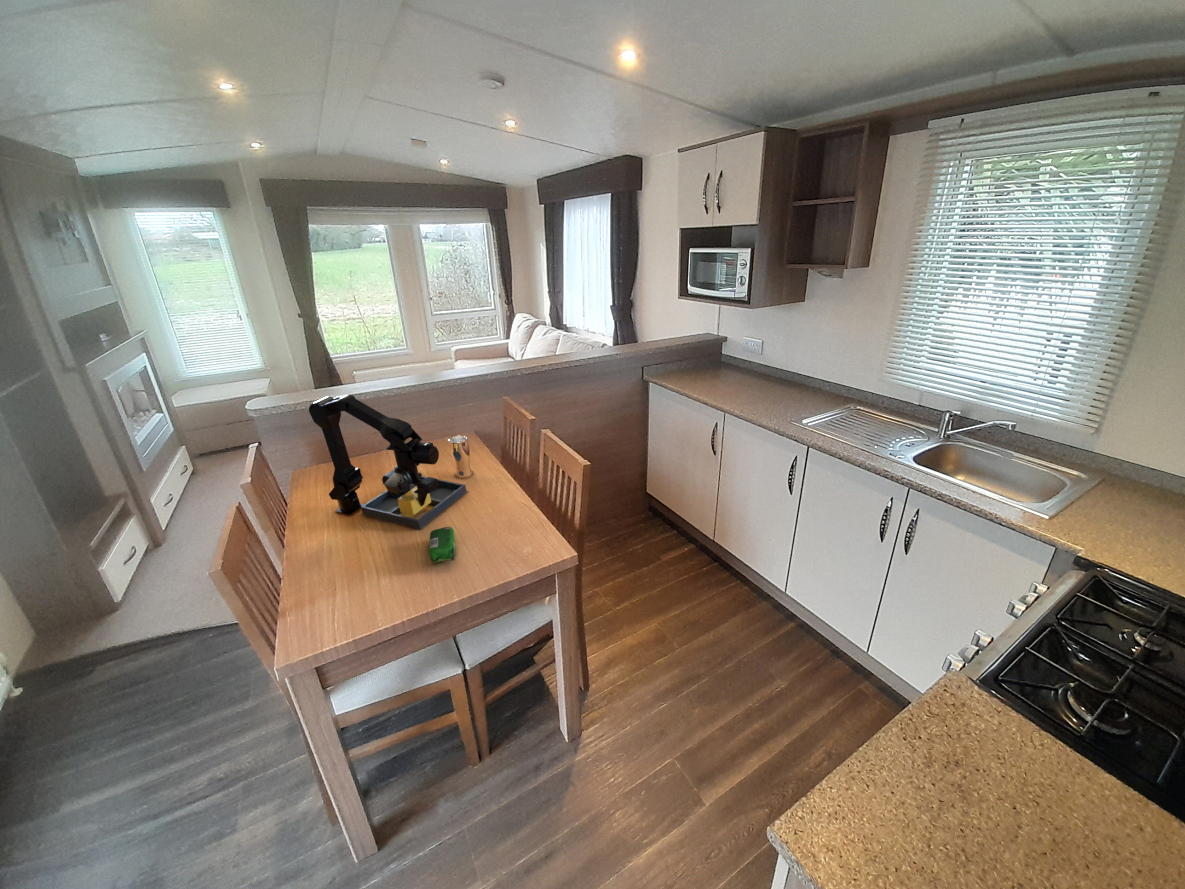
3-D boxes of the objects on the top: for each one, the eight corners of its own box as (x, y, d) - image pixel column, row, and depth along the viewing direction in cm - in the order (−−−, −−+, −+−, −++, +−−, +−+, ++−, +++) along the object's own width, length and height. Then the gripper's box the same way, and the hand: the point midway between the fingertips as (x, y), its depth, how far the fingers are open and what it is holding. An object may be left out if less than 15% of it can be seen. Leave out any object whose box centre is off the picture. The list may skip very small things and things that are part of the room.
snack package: (430, 571, 132) (426, 556, 130) (432, 539, 146) (429, 524, 143) (456, 567, 133) (453, 552, 131) (455, 535, 147) (453, 521, 145)
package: (400, 512, 154) (397, 498, 152) (418, 499, 161) (415, 486, 159) (413, 515, 152) (410, 502, 150) (431, 502, 159) (428, 489, 157)
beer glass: (477, 472, 184) (471, 437, 178) (463, 480, 179) (457, 444, 172) (464, 468, 187) (458, 433, 181) (450, 476, 182) (444, 440, 176)
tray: (362, 514, 159) (360, 506, 158) (413, 481, 180) (411, 473, 178) (420, 529, 151) (418, 521, 149) (466, 492, 171) (465, 484, 170)
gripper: (363, 468, 146) (375, 511, 153) (411, 478, 140) (421, 522, 146) (390, 453, 156) (400, 494, 162) (436, 461, 149) (444, 504, 155)
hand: (415, 503), depth 156 cm, fingers closed on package, 5 cm apart
